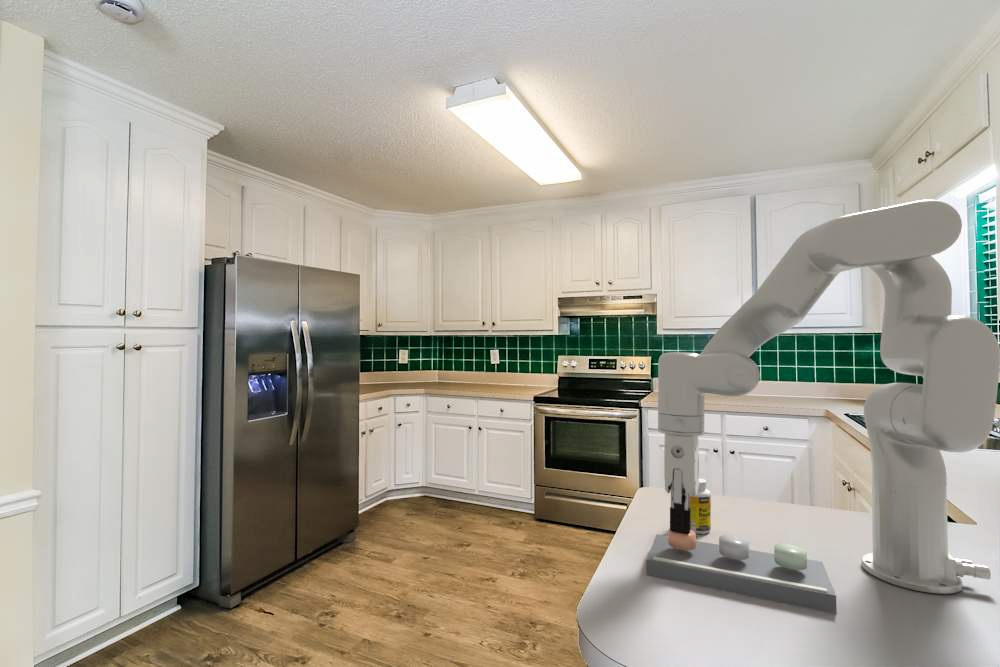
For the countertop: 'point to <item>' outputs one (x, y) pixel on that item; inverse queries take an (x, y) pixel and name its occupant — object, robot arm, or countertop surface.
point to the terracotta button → (682, 540)
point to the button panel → (743, 574)
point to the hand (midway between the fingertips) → (680, 531)
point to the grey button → (734, 547)
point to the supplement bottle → (701, 509)
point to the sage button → (790, 556)
